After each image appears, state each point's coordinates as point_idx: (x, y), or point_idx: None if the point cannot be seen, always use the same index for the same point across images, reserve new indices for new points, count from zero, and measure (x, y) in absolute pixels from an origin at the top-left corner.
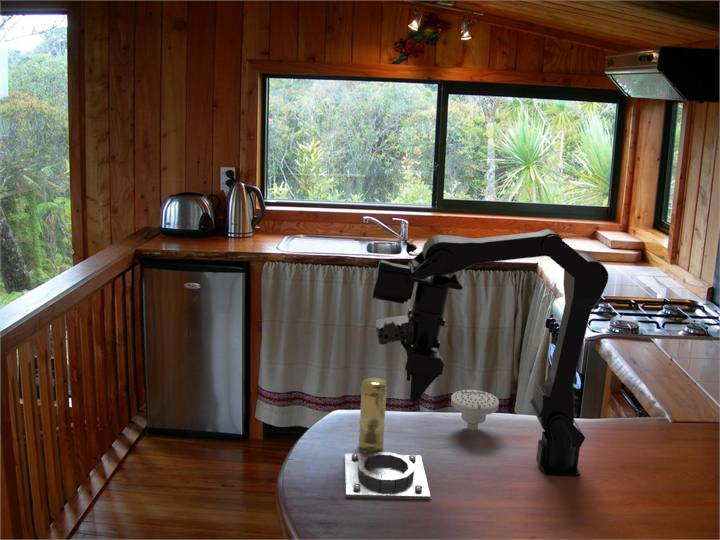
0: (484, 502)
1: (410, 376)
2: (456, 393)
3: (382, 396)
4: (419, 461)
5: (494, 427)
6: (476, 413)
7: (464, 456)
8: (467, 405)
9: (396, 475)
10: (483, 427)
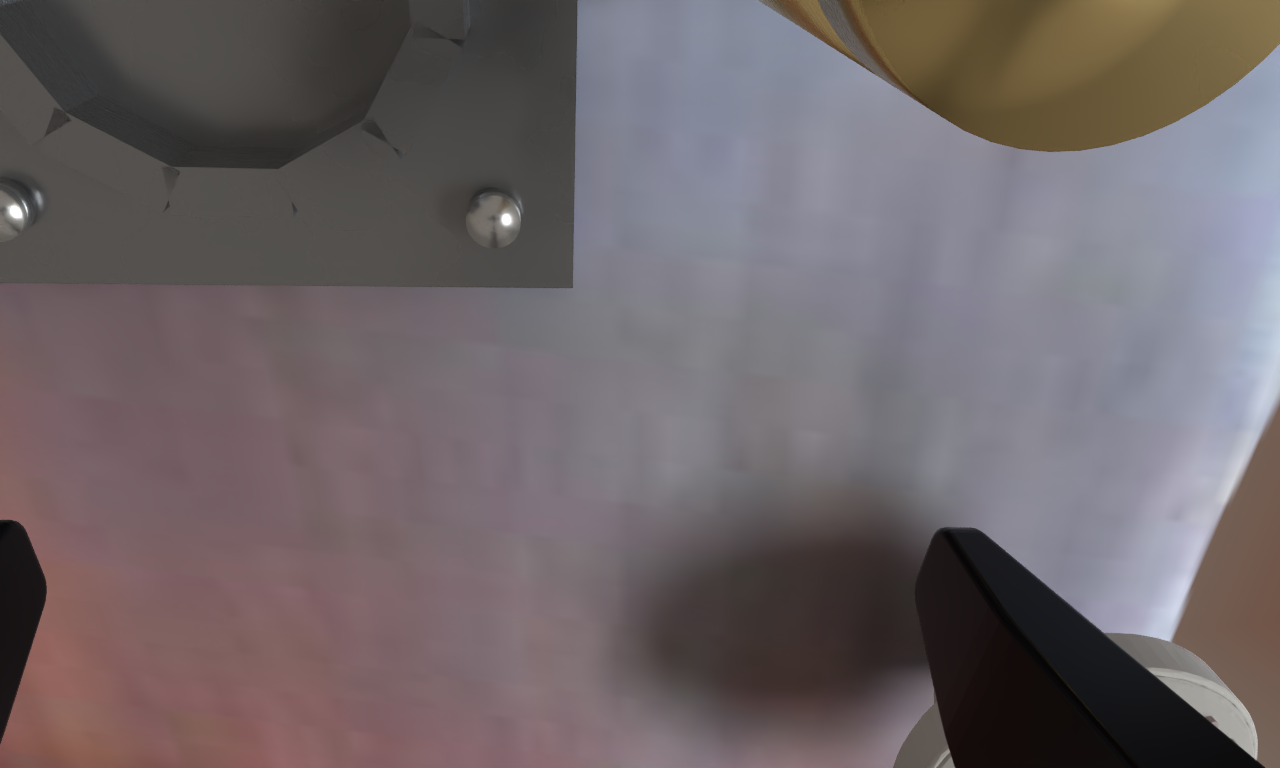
0: None
1: (954, 622)
2: (1201, 711)
3: (828, 23)
4: (474, 266)
5: None
6: (901, 765)
7: (610, 547)
8: None
9: (209, 52)
10: None
